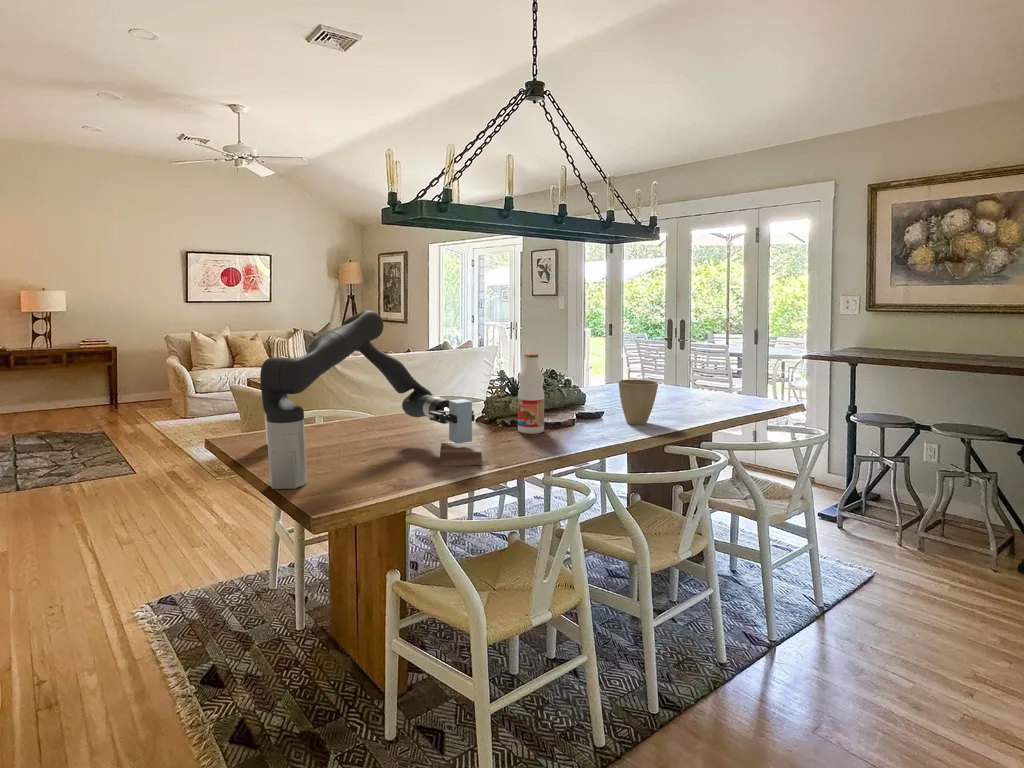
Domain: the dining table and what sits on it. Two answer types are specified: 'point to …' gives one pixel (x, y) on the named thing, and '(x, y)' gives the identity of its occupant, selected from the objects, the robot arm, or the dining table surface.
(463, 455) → the walnut plinth
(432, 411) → the robot arm
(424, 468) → the dining table surface
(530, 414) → the fruit juice
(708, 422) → the dining table surface
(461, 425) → the blue block
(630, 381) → the plant pot
